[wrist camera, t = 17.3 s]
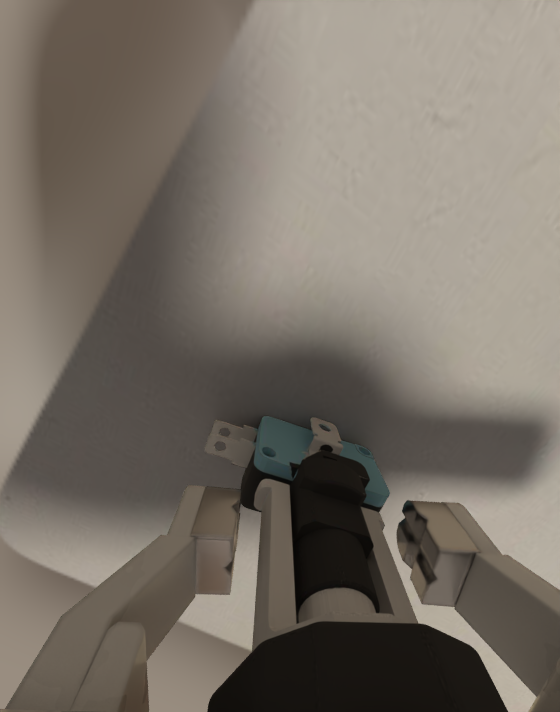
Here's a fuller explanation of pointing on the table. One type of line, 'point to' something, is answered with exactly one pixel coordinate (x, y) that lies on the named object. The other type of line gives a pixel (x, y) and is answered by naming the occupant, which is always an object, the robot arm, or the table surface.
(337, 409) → the table surface
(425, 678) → the push button
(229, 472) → the table surface
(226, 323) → the table surface
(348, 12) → the table surface
